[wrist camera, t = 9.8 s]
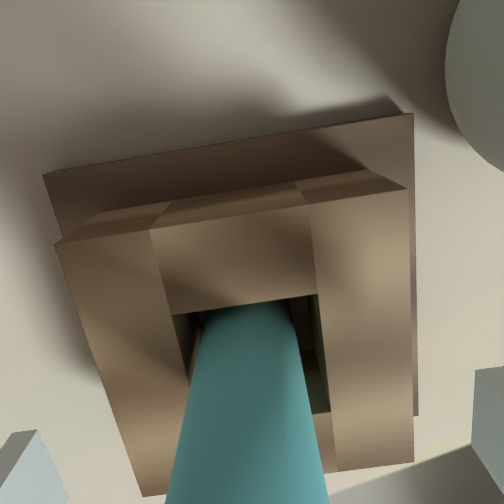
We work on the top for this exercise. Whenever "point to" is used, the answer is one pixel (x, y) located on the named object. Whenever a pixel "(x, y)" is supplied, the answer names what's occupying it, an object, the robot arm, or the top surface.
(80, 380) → the top surface
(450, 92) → the teacup
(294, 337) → the peg
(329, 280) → the socket
